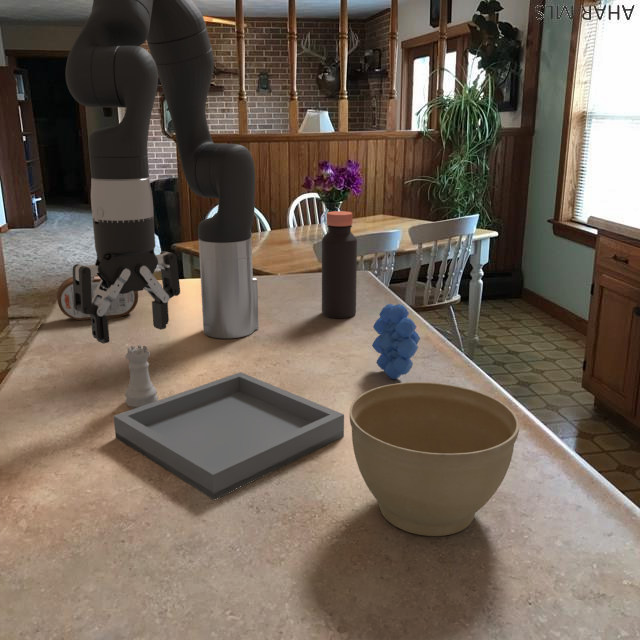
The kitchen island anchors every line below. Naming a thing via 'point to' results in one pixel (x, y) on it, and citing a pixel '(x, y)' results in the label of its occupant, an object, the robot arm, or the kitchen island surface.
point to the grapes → (395, 340)
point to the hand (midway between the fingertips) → (132, 334)
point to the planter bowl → (431, 452)
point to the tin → (66, 298)
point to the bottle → (339, 266)
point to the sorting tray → (228, 432)
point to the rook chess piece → (139, 379)
